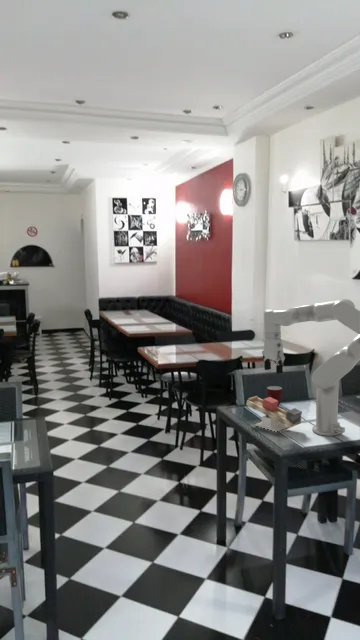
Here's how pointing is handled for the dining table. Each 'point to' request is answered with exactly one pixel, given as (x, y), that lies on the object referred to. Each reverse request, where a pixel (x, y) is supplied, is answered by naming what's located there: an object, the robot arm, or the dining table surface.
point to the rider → (270, 404)
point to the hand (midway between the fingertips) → (273, 371)
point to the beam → (276, 412)
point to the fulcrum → (271, 424)
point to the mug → (275, 393)
